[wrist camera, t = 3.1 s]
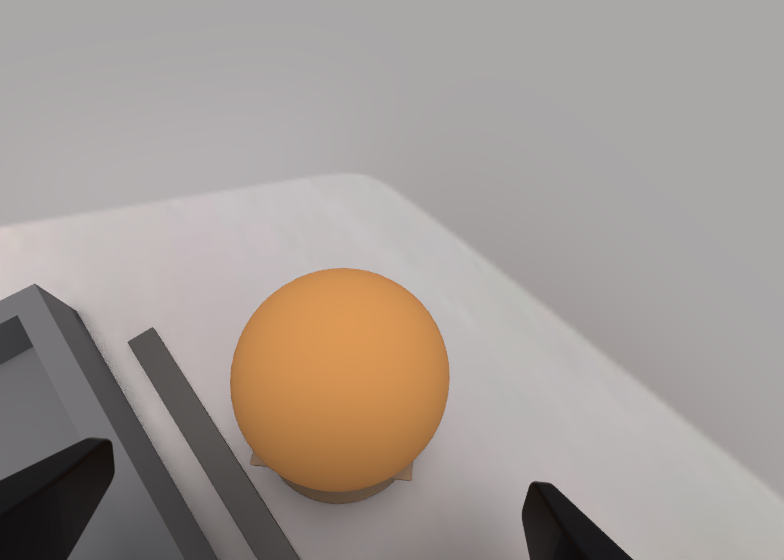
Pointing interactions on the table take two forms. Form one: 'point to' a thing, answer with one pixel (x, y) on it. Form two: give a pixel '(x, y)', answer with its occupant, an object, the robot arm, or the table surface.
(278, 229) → the table surface
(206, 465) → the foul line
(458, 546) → the table surface
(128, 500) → the grey square tray
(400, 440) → the ball
